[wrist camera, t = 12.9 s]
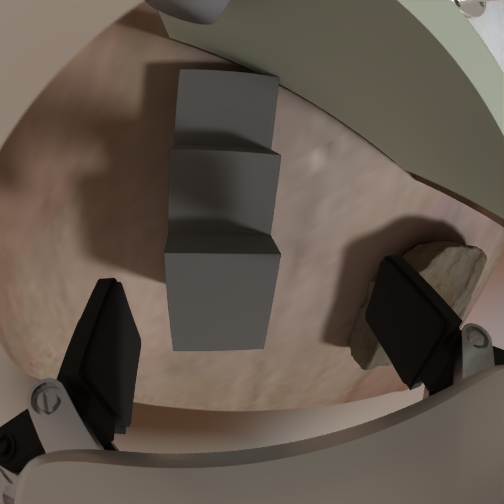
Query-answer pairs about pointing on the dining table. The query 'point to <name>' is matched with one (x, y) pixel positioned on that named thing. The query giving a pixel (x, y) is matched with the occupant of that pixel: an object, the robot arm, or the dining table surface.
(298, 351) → the dining table surface
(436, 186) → the wood grain plank
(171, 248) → the grey stepped block
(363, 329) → the marble piece
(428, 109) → the door
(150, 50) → the dining table surface
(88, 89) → the dining table surface
